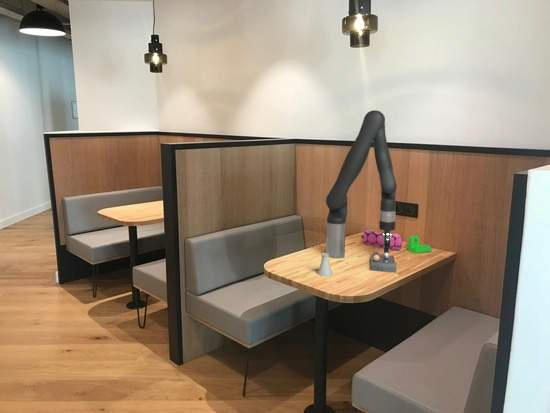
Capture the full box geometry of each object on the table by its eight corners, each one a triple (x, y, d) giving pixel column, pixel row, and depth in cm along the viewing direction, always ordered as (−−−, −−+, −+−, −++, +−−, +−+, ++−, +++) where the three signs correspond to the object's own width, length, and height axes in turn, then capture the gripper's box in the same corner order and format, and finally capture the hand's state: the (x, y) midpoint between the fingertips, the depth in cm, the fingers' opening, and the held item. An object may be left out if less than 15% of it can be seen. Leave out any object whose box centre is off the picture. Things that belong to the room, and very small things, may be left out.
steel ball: (382, 259, 211) (383, 255, 209) (382, 254, 213) (383, 250, 211) (389, 260, 210) (390, 255, 208) (389, 255, 213) (389, 250, 211)
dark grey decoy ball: (372, 259, 210) (372, 252, 209) (372, 257, 213) (372, 251, 212) (379, 259, 209) (379, 253, 209) (379, 257, 212) (379, 251, 212)
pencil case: (360, 246, 243) (360, 228, 241) (367, 242, 251) (368, 225, 249) (397, 252, 231) (398, 234, 229) (403, 248, 238) (404, 230, 236)
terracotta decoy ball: (372, 262, 205) (373, 255, 205) (372, 260, 208) (373, 253, 208) (379, 262, 205) (380, 255, 204) (379, 260, 208) (379, 254, 207)
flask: (322, 272, 199) (322, 250, 197) (336, 275, 195) (336, 253, 193) (313, 276, 194) (313, 254, 192) (327, 279, 189) (327, 257, 187)
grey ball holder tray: (371, 270, 200) (371, 262, 200) (370, 259, 218) (371, 251, 217) (396, 272, 198) (396, 264, 197) (393, 260, 216) (393, 253, 215)
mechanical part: (415, 253, 230) (416, 238, 229) (407, 250, 236) (408, 235, 234) (433, 250, 235) (434, 236, 233) (425, 248, 240) (426, 233, 239)
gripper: (378, 216, 217) (377, 250, 220) (380, 222, 204) (379, 257, 207) (394, 217, 216) (392, 250, 219) (397, 222, 203) (395, 258, 206)
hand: (386, 254), depth 213 cm, fingers closed
